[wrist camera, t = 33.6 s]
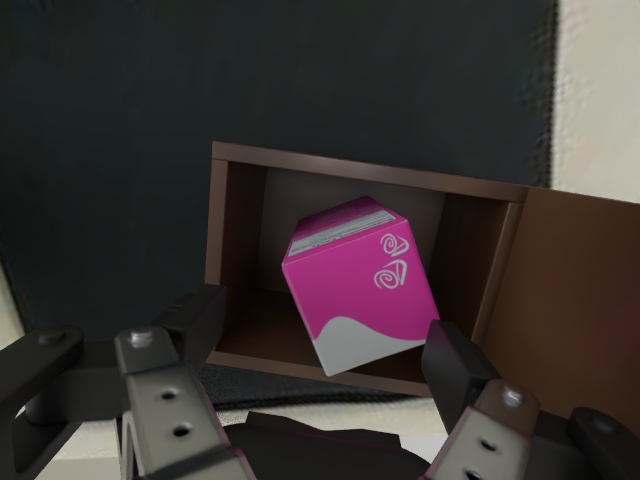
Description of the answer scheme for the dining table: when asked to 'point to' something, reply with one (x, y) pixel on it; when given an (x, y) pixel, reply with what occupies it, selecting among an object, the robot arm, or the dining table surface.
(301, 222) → the supplement box
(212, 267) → the chest
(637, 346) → the lid
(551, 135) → the dining table surface
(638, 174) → the dining table surface
